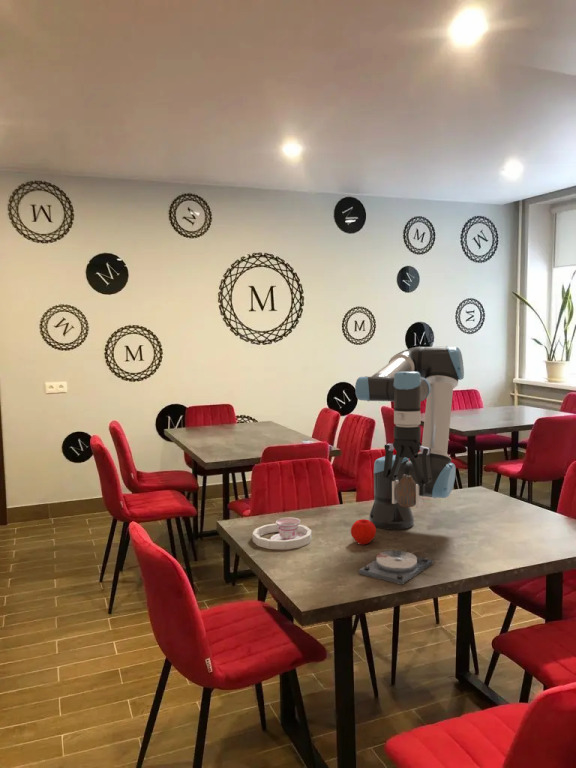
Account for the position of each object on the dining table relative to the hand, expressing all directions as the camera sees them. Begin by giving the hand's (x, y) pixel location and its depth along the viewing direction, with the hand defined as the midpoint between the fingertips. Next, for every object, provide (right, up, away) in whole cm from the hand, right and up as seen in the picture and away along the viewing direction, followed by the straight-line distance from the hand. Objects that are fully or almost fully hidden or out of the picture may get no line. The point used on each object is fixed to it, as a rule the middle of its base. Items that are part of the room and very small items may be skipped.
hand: (407, 504), depth 177 cm
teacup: (-34, -15, +19) cm, 42 cm away
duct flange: (-4, -16, -7) cm, 18 cm away
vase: (0, -1, 0) cm, 1 cm away
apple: (-11, -15, +14) cm, 24 cm away
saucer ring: (-36, -15, +19) cm, 44 cm away
